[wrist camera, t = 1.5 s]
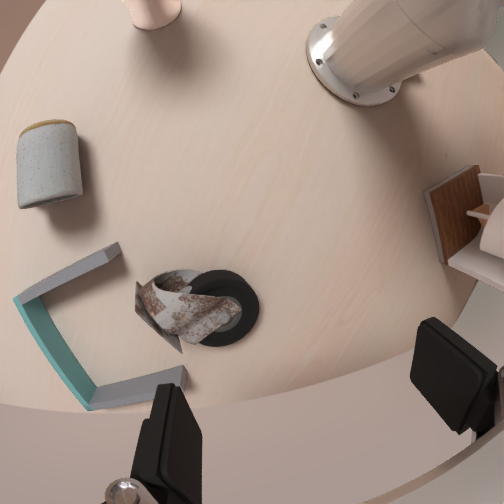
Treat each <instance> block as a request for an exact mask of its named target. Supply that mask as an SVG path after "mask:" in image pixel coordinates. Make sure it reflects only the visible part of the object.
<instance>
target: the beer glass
mask: <svg viewBox="0 0 504 504" xmlns="http://www.w3.org/2000/svg"><path fill="white" fill-rule="evenodd" d="M122 1H123V2H124V3H125V4H126V5H127V7H128V8H129V10H130V15H131V20H132V23H133V24H134V25H135V26H136V27H138V28H140V29H144V30H153V29H158V28H161V27H163V26H166V25H167V24H169V23H171V22H172V21H173V20H174V19H175V18H176V17H177V16H178V15H179V13H180V10H181V3H180V0H122Z"/></svg>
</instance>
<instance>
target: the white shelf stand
mask: <svg viewBox="0 0 504 504" xmlns="http://www.w3.org/2000/svg"><path fill="white" fill-rule="evenodd" d="M424 196H425V199H426V203H427V207H428V210H429V214H430V218H431V222H432V227H433V231H434V236H435V240H436V245H437V250H438V256H439V261H440V262H442V263H444V264H446V265H449V266H451V267H453V268H455V269H457V270H459V271H461V272H464V273H466V274H468V275H470V276H472V277H474V278H476V279H478V280H480V281H482V282H484V283H486V284H488V285H490V286H492V287H494V288H496V289H498V290H500V291H502V292H504V175H498V174H487V173H480V169H479V165H469V166H467V167H465V168H464V169H462V170H460V171H458V172H457V173H455V174H453V175H452V176H450V177H448V178H447V179H445V180H443V181H441V182H440V183H438V184H436V185H435V186H433V187H431V188H429V189H428V190H426V191H424Z"/></svg>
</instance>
